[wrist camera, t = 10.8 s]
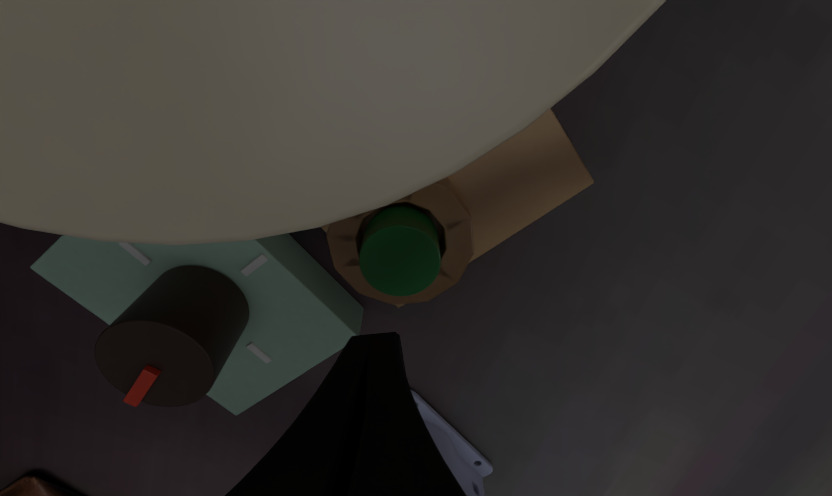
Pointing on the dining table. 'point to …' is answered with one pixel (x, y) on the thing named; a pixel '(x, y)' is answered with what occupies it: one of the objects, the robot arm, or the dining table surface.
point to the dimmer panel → (258, 280)
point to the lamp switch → (400, 251)
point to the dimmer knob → (174, 337)
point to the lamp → (270, 105)
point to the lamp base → (476, 205)
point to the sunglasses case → (34, 488)
